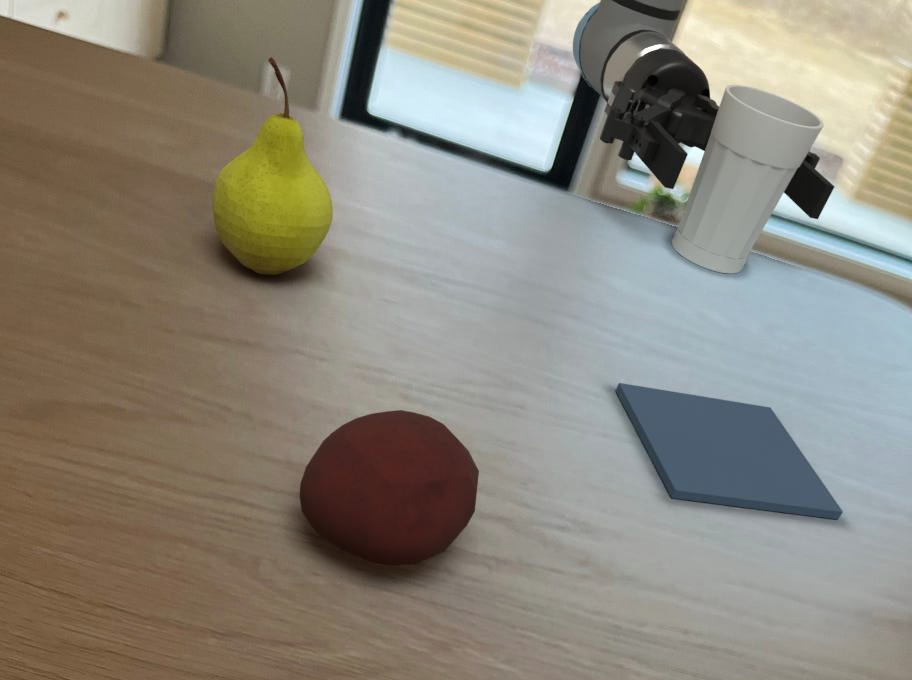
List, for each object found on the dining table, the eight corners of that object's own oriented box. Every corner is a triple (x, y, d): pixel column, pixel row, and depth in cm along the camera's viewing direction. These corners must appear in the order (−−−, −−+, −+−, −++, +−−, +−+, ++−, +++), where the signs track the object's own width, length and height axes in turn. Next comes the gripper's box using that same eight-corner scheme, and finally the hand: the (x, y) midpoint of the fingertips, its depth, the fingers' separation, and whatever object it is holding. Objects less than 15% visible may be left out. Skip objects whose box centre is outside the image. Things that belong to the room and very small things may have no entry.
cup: (645, 229, 88) (706, 78, 80) (717, 236, 92) (782, 92, 84) (695, 275, 83) (766, 120, 76) (769, 281, 87) (844, 133, 79)
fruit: (289, 240, 68) (324, 41, 60) (338, 293, 65) (382, 89, 57) (190, 240, 65) (213, 28, 57) (236, 296, 61) (268, 78, 53)
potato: (491, 584, 48) (534, 478, 44) (327, 607, 44) (358, 493, 40) (421, 486, 52) (455, 381, 48) (266, 498, 48) (288, 385, 44)
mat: (766, 414, 68) (770, 407, 68) (838, 519, 61) (843, 511, 60) (615, 390, 65) (618, 382, 65) (671, 498, 58) (675, 489, 57)
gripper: (751, 158, 103) (854, 257, 89) (520, 106, 95) (592, 205, 80) (788, 77, 98) (904, 168, 84) (547, 15, 90) (629, 104, 76)
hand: (751, 187), depth 82 cm, fingers open, 13 cm apart
